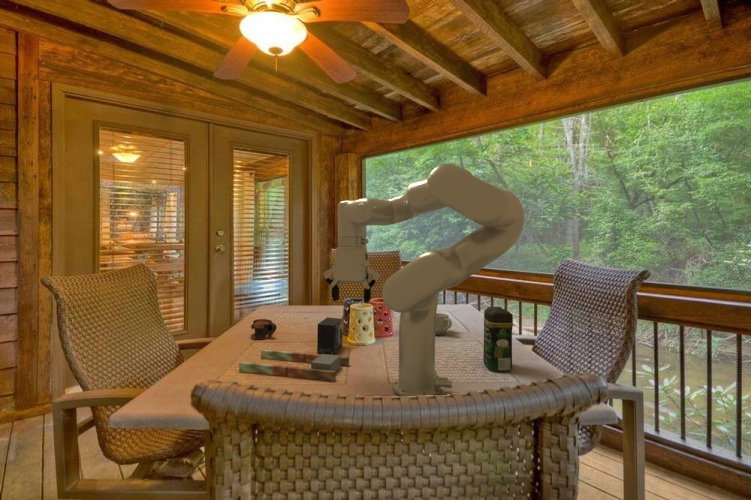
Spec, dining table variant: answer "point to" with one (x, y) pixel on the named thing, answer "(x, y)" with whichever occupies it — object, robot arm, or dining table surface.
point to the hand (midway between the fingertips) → (351, 301)
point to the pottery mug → (262, 329)
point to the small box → (329, 336)
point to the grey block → (327, 362)
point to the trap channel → (288, 370)
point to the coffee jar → (498, 339)
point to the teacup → (442, 323)
